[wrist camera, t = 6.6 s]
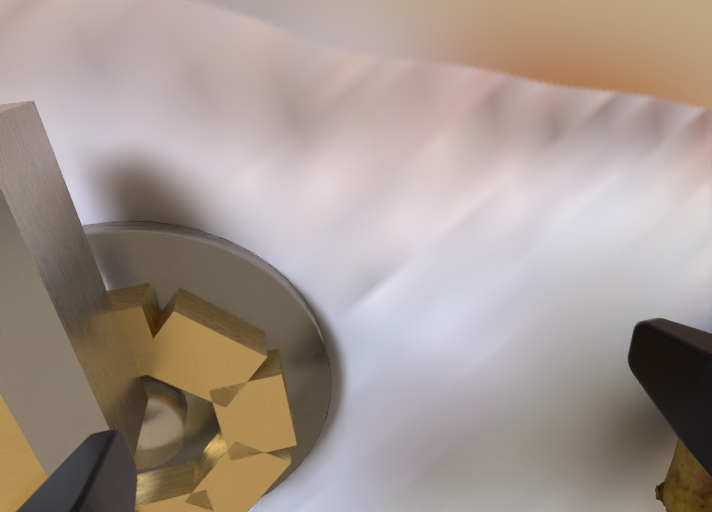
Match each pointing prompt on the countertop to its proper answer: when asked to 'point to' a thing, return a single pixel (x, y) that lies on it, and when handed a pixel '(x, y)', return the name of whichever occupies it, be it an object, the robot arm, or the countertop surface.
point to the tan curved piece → (116, 353)
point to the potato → (685, 484)
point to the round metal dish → (232, 294)
